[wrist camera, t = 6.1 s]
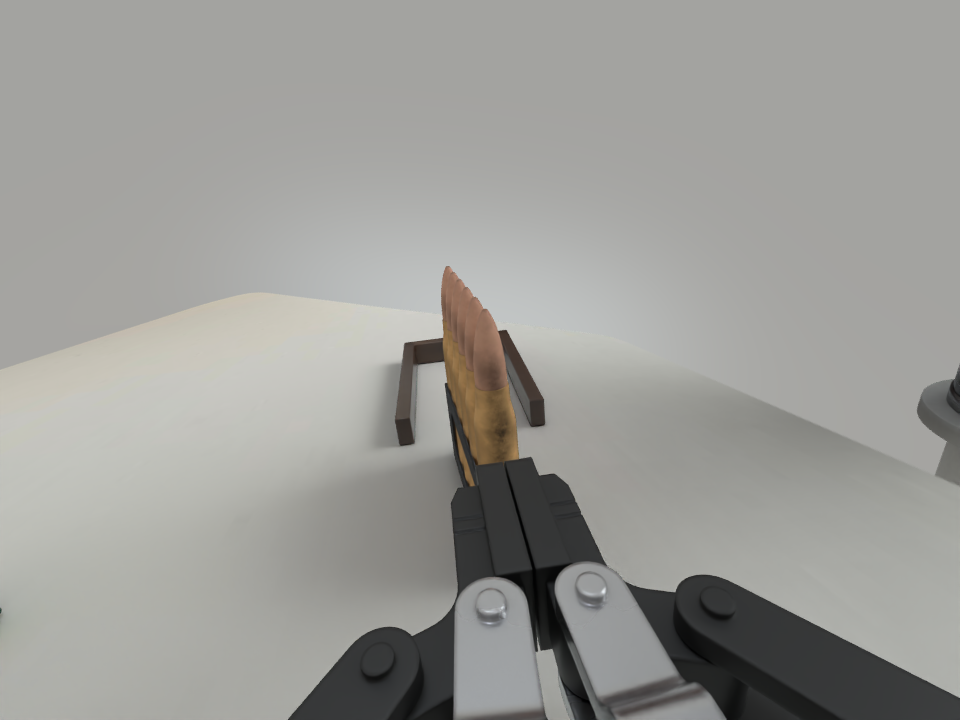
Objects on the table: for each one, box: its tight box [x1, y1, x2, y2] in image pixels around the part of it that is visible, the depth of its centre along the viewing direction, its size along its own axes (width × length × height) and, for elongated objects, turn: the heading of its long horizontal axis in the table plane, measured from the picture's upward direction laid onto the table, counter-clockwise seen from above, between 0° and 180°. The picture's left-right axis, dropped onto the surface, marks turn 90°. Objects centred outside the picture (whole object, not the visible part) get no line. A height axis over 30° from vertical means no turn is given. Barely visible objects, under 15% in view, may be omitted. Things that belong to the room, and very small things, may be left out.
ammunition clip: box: [441, 266, 519, 487], centre depth 22 cm, size 11×2×12 cm, turn 12°
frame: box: [395, 330, 545, 445], centre depth 37 cm, size 10×15×2 cm, turn 6°
